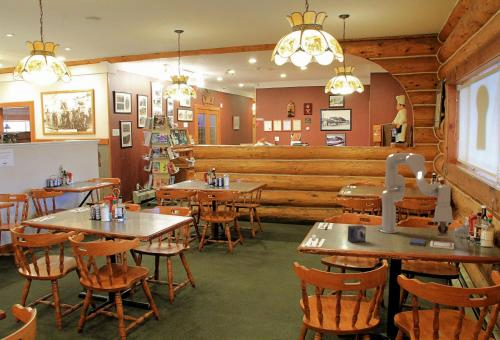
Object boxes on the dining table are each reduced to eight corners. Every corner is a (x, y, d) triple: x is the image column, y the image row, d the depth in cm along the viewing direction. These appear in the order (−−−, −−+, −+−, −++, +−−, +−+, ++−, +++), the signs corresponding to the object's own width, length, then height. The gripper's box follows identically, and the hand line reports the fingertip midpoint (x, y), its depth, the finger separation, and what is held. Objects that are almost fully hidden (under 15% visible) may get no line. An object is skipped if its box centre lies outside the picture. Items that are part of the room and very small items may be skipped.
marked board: (429, 246, 274) (430, 245, 274) (430, 241, 286) (430, 240, 286) (453, 249, 268) (453, 247, 268) (453, 244, 280) (453, 242, 280)
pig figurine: (474, 237, 297) (474, 222, 296) (457, 238, 296) (457, 223, 295) (469, 235, 302) (470, 221, 302) (452, 236, 301) (453, 221, 300)
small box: (351, 243, 284) (351, 227, 283) (347, 240, 290) (347, 225, 289) (365, 242, 286) (366, 227, 285) (361, 239, 292) (361, 225, 291)
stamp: (437, 236, 275) (438, 219, 274) (437, 234, 280) (438, 217, 279) (447, 237, 272) (448, 219, 271) (447, 235, 278) (448, 218, 277)
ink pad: (409, 244, 280) (409, 242, 280) (411, 240, 291) (411, 238, 291) (424, 245, 276) (424, 243, 276) (425, 241, 287) (425, 239, 287)
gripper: (429, 204, 275) (428, 232, 276) (457, 205, 268) (456, 234, 269) (430, 202, 281) (429, 229, 283) (457, 204, 274) (456, 231, 276)
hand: (442, 231), depth 276 cm, fingers closed on stamp, 3 cm apart
